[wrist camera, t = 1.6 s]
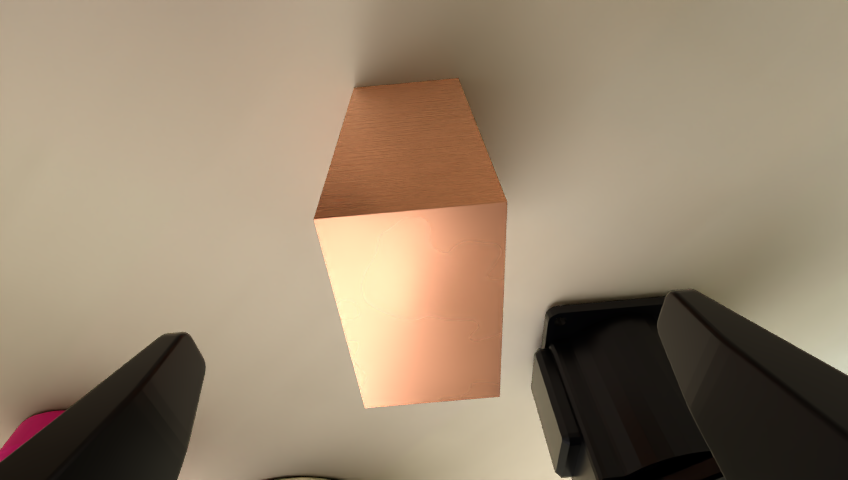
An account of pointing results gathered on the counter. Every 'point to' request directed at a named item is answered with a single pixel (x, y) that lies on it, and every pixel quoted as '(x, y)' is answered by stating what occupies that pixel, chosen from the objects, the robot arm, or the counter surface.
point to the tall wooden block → (416, 245)
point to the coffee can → (302, 478)
